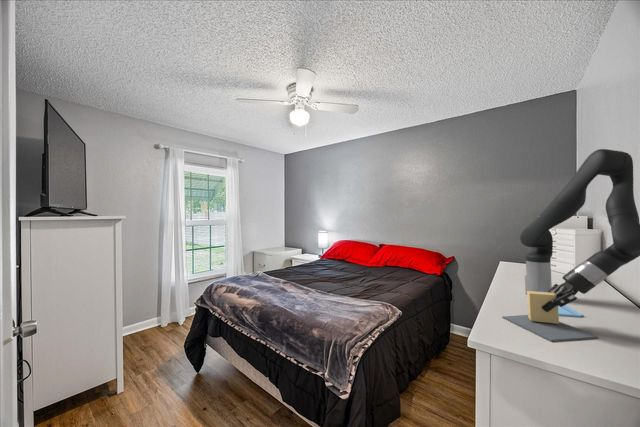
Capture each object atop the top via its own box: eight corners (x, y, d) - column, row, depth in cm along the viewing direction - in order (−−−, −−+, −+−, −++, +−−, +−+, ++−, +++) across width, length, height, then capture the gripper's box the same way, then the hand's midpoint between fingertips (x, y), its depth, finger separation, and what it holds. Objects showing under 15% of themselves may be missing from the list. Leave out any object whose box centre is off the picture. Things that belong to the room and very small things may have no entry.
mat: (502, 318, 103) (502, 316, 103) (540, 315, 105) (540, 314, 105) (551, 341, 84) (550, 339, 84) (597, 338, 85) (597, 336, 85)
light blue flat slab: (584, 319, 101) (584, 315, 101) (546, 316, 105) (546, 313, 105) (564, 307, 114) (564, 304, 114) (531, 305, 118) (531, 302, 118)
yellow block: (530, 320, 97) (529, 293, 98) (528, 317, 101) (526, 290, 101) (558, 323, 94) (557, 295, 94) (555, 320, 97) (553, 292, 97)
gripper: (565, 265, 100) (527, 294, 105) (583, 273, 87) (538, 306, 92) (585, 280, 98) (545, 310, 103) (606, 290, 85) (559, 323, 90)
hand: (542, 308), depth 97 cm, fingers closed on yellow block, 3 cm apart
